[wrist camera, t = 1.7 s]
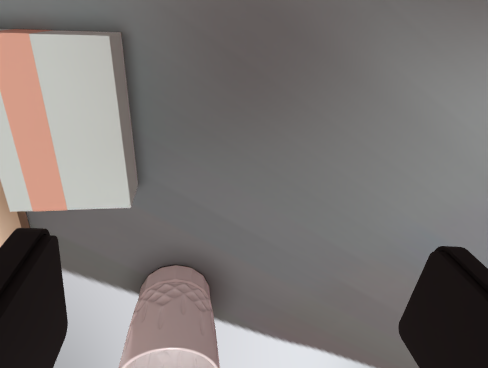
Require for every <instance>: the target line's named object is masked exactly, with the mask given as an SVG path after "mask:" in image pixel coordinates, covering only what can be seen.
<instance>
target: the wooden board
mask: <svg viewBox="0 0 488 368" xmlns="http://www.w3.org/2000/svg"><path fill="white" fill-rule="evenodd" d="M17 228H30V227H29V223H28V220H27V216H26V212H25V211H17V212H10V210H9V207H8V203H7V200H6V197H5V193H4V190H3V187H2V183H1V180H0V247H1V246H2V245H3V243H4V242H5V241H6V240H7V239H8V237H9V236H10V235H11V234H12V233H13V231H14V230H15V229H17Z"/></svg>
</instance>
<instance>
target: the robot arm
mask: <svg viewBox="0 0 488 368" xmlns="http://www.w3.org/2000/svg"><path fill="white" fill-rule="evenodd" d="M67 323H68V322H67V312H66V304H65V296H64V287H63V279H62V270H61V262H60V253H59V245H58V239H57V237H56V236H50V234H49V231H48V230H47V229H39V228H17V229H15V230H14V231H13V233H12V234H11V235H10V236H9V237H8V239H7V240H6V241H5V242H4V243H3V245H2V246H1V247H0V368H53V366H54V364H55V361H56V359H57V356H58V354H59V352H60V349H61V346H62V344H63V341H64V339H65V336H66V332H67ZM399 334H400V336H401V338H402V340H403V342H404V343H405V345H406V347H407V348H408V350H409V351H410V353H411V355H412V356H413V358H414V360H415V361H416V363H417V365H418V366H419V368H488V268H486V267H485V266H484V265H483V264H482V263H481V262H480V261H479V260H478V259H477V258H475V257H474V256H473V255H472V254H471V253H470V252H469V251H468V250H466V249H465V248H462V247H450V246H441V247H438V248H437V249H436V250H435V251H434V252H432V253H431V254H430V256H429V258H428V260H427V262H426V264H425V267H424V269H423V271H422V273H421V275H420V278H419V280H418V282H417V284H416V287H415V289H414V291H413V293H412V295H411V298H410V300H409V302H408V304H407V307H406V309H405V311H404V313H403V316H402V318H401V320H400V322H399Z"/></svg>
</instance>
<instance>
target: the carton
mask: <svg viewBox="0 0 488 368" xmlns="http://www.w3.org/2000/svg"><path fill="white" fill-rule="evenodd" d="M0 180H1V183H2V187H3V190H4V193H5V197H6V200H7V203H8V207H9V210H10V212H17V211H58V210H77V209H107V208H131V206H132V203H133V200H134V197H135V194H136V190H137V187H138V179H137V170H136V161H135V152H134V143H133V134H132V125H131V116H130V108H129V99H128V90H127V81H126V72H125V63H124V54H123V45H122V37H121V32H92V31H55V30H30V29H0Z"/></svg>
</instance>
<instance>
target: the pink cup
mask: <svg viewBox="0 0 488 368" xmlns="http://www.w3.org/2000/svg"><path fill="white" fill-rule="evenodd" d="M119 368H220V365H219V357H218V348H217V339H216V330H215V323H214V317H213V310H212V306H211V301H210V291H209V285H208V284H207V282H206V280H205V278H204V276H203V275H202V274H200V273H199V272H197V271H195V270H194V269H192V268H190V267H184V266H179V265H174V266H168V267H162V268H160V269H158V270H157V271H155V272H153V273H152V274H150V275H149V276H148V277H147V279H146V280H145V282H144V283H143V285H142V287H141V291H140V295H139V299H138V302H137V304H136V307H135V310H134V313H133V317H132V321H131V324H130V327H129V330H128V334H127V338H126V342H125V346H124V350H123V353H122V357H121V361H120V364H119Z"/></svg>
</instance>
